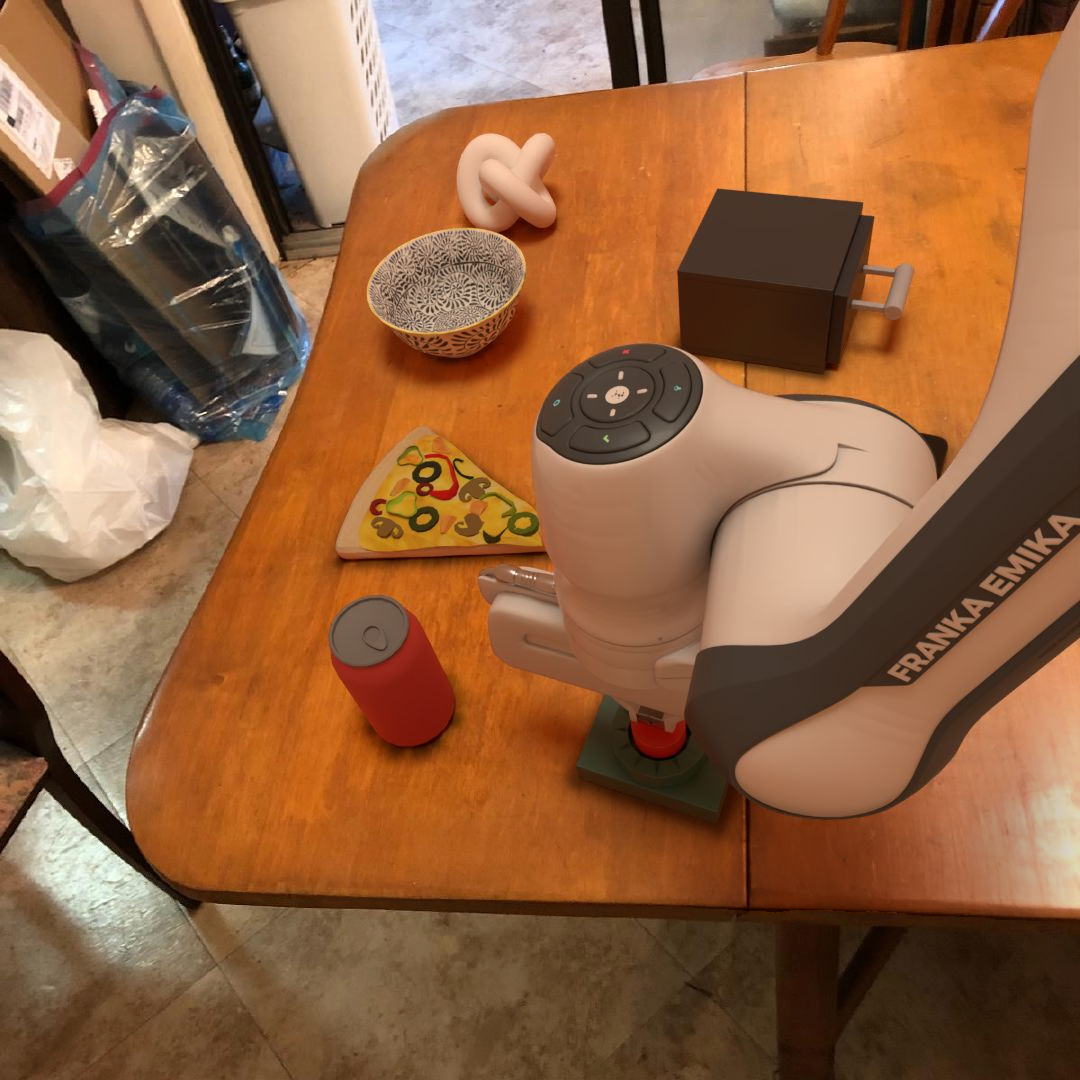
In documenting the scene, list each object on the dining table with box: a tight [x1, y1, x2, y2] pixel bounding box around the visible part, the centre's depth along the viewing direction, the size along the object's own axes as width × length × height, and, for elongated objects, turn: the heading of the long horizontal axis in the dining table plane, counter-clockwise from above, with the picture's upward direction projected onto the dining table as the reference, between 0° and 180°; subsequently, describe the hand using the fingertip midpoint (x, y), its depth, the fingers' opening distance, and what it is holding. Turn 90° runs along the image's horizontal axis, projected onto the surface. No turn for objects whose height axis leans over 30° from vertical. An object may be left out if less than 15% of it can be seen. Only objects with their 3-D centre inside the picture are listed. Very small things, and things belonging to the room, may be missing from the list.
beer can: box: [327, 594, 456, 747], centre depth 67 cm, size 7×7×12 cm
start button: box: [631, 719, 686, 758], centre depth 63 cm, size 4×4×2 cm
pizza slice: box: [335, 425, 547, 560], centre depth 81 cm, size 16×21×3 cm
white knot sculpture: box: [456, 132, 557, 233], centre depth 105 cm, size 11×12×9 cm
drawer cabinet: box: [676, 188, 864, 375], centre depth 88 cm, size 14×13×10 cm
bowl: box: [366, 227, 528, 359], centre depth 94 cm, size 16×16×8 cm
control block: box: [575, 694, 730, 825], centre depth 65 cm, size 10×7×4 cm
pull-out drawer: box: [826, 214, 915, 365], centre depth 87 cm, size 17×11×8 cm
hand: (655, 717), depth 62 cm, fingers closed
